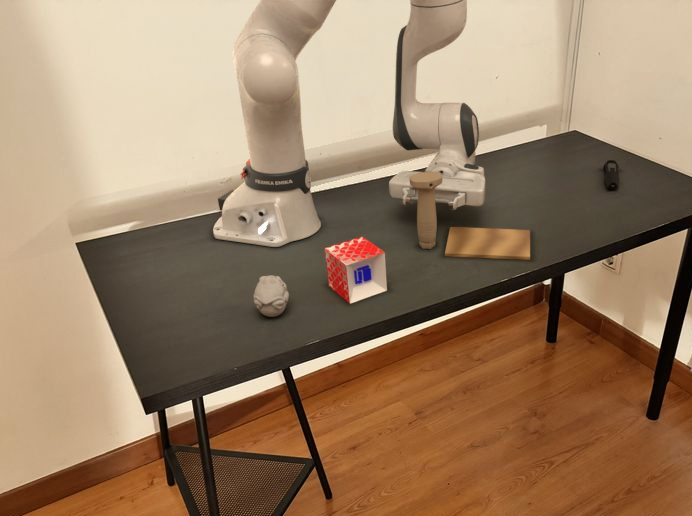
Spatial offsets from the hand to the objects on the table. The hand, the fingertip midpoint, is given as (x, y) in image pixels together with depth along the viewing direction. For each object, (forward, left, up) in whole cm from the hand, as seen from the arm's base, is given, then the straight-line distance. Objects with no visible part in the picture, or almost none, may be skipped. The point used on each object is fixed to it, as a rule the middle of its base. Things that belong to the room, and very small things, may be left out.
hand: (429, 203), depth 145 cm
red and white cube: (-11, -20, -9) cm, 25 cm away
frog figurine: (-24, -30, -9) cm, 40 cm away
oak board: (+12, 0, -9) cm, 15 cm away
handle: (0, -2, -9) cm, 9 cm away
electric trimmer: (+41, +37, -9) cm, 56 cm away
